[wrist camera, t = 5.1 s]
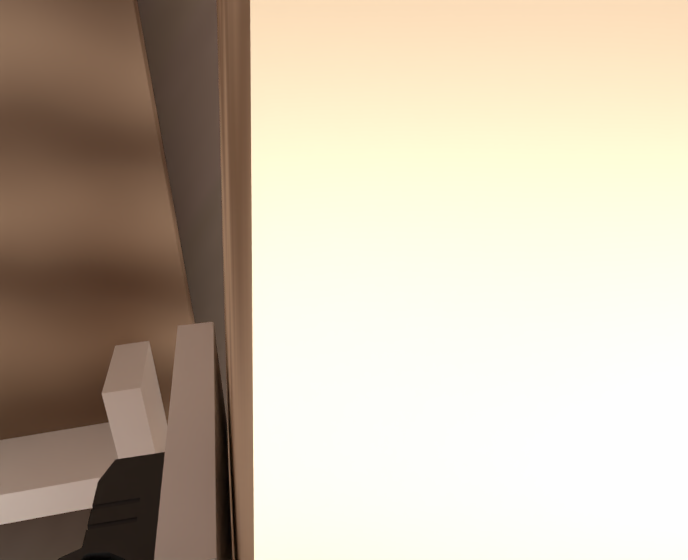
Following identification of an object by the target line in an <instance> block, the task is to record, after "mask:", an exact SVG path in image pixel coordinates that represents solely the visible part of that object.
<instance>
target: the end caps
mask: <svg viewBox="0 0 688 560" xmlns="http://www.w3.org/2000/svg"><path fill="white" fill-rule="evenodd" d="M102 397H103V401H104V405H105V409H106V413H107V417H108V420H109V422H108V423H102V424H96V425H90V426H84V427H77V428H71V429H65V430H59V431H53V432H47V433H41V434H35V435H29V436H23V437H17V438H10V439H4V440H0V525H1V524H7V523H12V522H18V521H23V520H29V519H34V518H40V517H45V516H50V515H56V514H61V513H67V512H72V511H78V510H83V509H89V508H93V507H92V504H93V500H94V496H95V492H96V488H97V483H98V481H99V480H100V478H101V477H102V476H103V474H104V473H105V472H106V471H107V469H108V468H109V467H110V466H111V464H112V463H113V462H114V460H115V459H121V458H128V457H135V456H141V455H148V454H155V453H161V452H165V446H166V436H167V421H166V417H165V412H164V407H163V403H162V398H161V394H160V389H159V384H158V380H157V375H156V370H155V366H154V361H153V356H152V352H151V347H150V342H149V341H144V342H137V343H130V344H123V345H116V346H115V348H114V352H113V355H112V359H111V362H110V366H109V369H108V373H107V376H106V380H105V383H104V387H103V390H102Z"/></svg>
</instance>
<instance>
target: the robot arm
mask: <svg viewBox="0 0 688 560" xmlns="http://www.w3.org/2000/svg"><path fill="white" fill-rule="evenodd" d="M92 507H93V509H92V510H91V513H90V517H89V521H88V530H86V534H85V538H84V542H83V546H82V548H81V549H79V550H76V551H74V552H72V553H70V554H68V555H65V556H63V557H61V558H59V559H58V560H233V551H232V528H231V504H230V481H229V458H228V435H227V421H226V413H225V406H224V398H223V390H222V383H221V375H220V368H219V360H218V353H217V345H216V338H215V330H214V322H205V323H197V324H188V325H180V326H178V328H177V338H176V348H175V357H174V367H173V377H172V387H171V397H170V407H169V416H168V426H167V436H166V446H165V452H161V453H155V454H148V455H141V456H135V457H128V458H121V459H115V460H114V462H113V463H112V464H111V466H110V467H109V468H108V469H107V471H106V472H105V473H104V474H103V476H102V477H101V478H100V480H99V481H98V483H97V488H96V492H95V496H94V500H93V504H92Z"/></svg>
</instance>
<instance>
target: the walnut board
mask: <svg viewBox="0 0 688 560" xmlns="http://www.w3.org/2000/svg"><path fill="white" fill-rule="evenodd" d="M188 324H195V321H194V316H193V310H192V305H191V299H190V294H189V288H188V282H187V277H186V271H185V266H184V260H183V255H182V249H181V243H180V238H179V232H178V227H177V221H176V216H175V210H174V204H173V199H172V193H171V188H170V182H169V177H168V171H167V165H166V160H165V154H164V149H163V143H162V138H161V132H160V126H159V121H158V115H157V110H156V104H155V99H154V93H153V87H152V82H151V76H150V71H149V65H148V60H147V54H146V48H145V43H144V37H143V32H142V26H141V21H140V15H139V9H138V4H137V0H0V440H4V439H10V438H17V437H23V436H29V435H35V434H41V433H47V432H53V431H59V430H65V429H71V428H77V427H84V426H90V425H96V424H102V423H108V422H109V420H108V417H107V413H106V409H105V405H104V401H103V397H102V390H103V387H104V383H105V380H106V376H107V373H108V369H109V366H110V362H111V359H112V355H113V352H114V348H115V346H116V345H123V344H130V343H137V342H144V341H149V342H150V347H151V352H152V356H153V361H154V366H155V370H156V375H157V380H158V384H159V389H160V394H161V398H162V403H163V407H164V412H165V417H166V421H167V426H168V416H169V407H170V397H171V387H172V377H173V367H174V357H175V348H176V338H177V328H178V326H180V325H188Z"/></svg>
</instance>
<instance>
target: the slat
mask: <svg viewBox="0 0 688 560" xmlns="http://www.w3.org/2000/svg"><path fill="white" fill-rule="evenodd" d="M217 26H218V65H219V104H220V143H221V183H222V222H223V261H224V300H225V340H226V379H227V418H228V457H229V481H230V504H231V528H232V551H233V560H688V0H217Z"/></svg>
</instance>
